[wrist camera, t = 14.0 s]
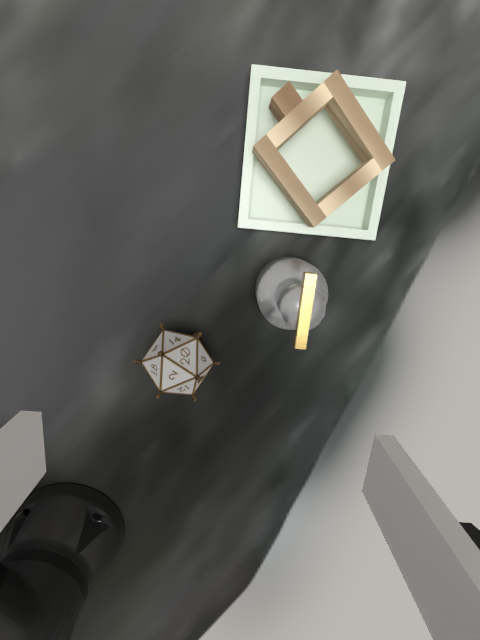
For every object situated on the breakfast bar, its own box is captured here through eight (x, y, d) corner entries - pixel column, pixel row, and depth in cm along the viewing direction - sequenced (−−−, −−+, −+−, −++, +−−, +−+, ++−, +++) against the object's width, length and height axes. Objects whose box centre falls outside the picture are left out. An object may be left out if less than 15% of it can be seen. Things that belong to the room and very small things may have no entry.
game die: (176, 330, 46) (138, 304, 37) (234, 344, 43) (209, 319, 34) (153, 395, 44) (107, 385, 34) (214, 414, 41) (181, 408, 32)
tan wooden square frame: (308, 226, 36) (314, 227, 33) (239, 135, 34) (239, 127, 31) (382, 165, 35) (395, 159, 32) (315, 64, 32) (323, 48, 29)
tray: (237, 227, 39) (237, 227, 36) (250, 75, 34) (251, 64, 32) (366, 239, 39) (375, 240, 37) (394, 91, 35) (406, 81, 33)
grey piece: (252, 315, 41) (257, 349, 30) (258, 253, 39) (267, 265, 28) (313, 321, 42) (341, 356, 31) (322, 259, 40) (356, 273, 29)
